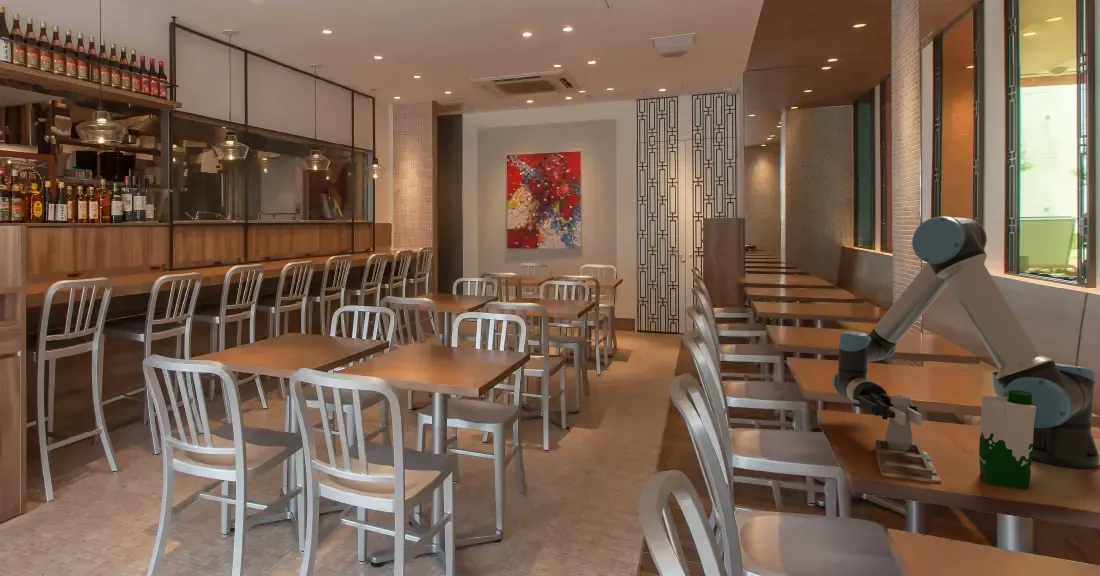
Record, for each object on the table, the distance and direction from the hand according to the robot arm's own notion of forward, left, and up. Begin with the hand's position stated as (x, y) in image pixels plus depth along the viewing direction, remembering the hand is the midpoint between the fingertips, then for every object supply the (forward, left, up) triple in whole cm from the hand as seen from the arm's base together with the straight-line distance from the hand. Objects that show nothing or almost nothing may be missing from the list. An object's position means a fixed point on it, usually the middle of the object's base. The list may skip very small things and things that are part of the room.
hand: (911, 419), depth 143 cm
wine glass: (-30, -48, -11) cm, 57 cm away
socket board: (+1, 0, -11) cm, 11 cm away
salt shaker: (+2, -5, -9) cm, 10 cm away
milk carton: (-18, +3, -11) cm, 21 cm away
